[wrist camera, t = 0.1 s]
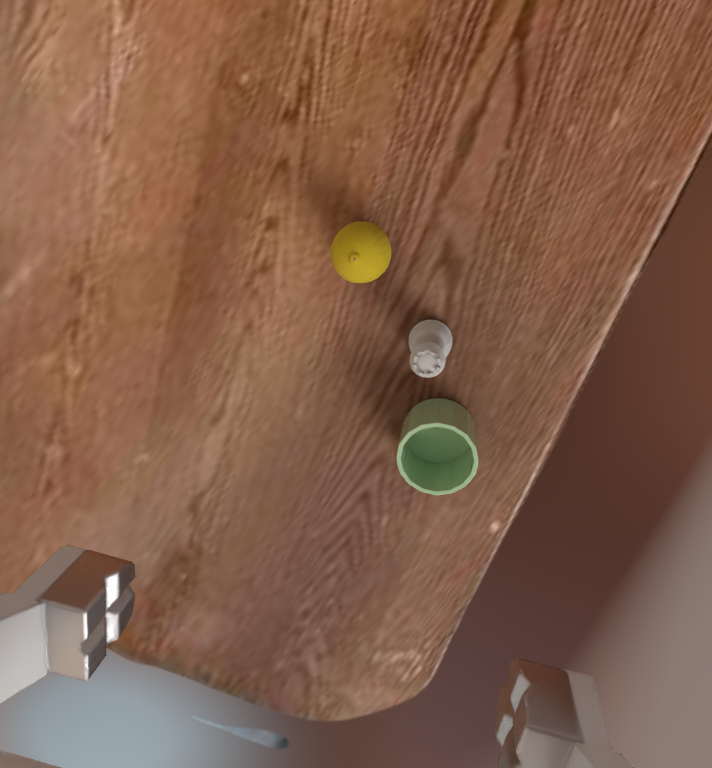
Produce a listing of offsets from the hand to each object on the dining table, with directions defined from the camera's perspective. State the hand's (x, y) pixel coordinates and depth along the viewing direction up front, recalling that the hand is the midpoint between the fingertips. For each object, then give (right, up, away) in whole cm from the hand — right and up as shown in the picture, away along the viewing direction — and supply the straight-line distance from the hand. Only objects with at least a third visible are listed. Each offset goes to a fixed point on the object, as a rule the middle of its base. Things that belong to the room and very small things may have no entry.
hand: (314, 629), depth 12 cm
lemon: (+2, +19, +45) cm, 49 cm away
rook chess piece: (+9, +10, +47) cm, 49 cm away
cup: (+10, 0, +50) cm, 51 cm away
